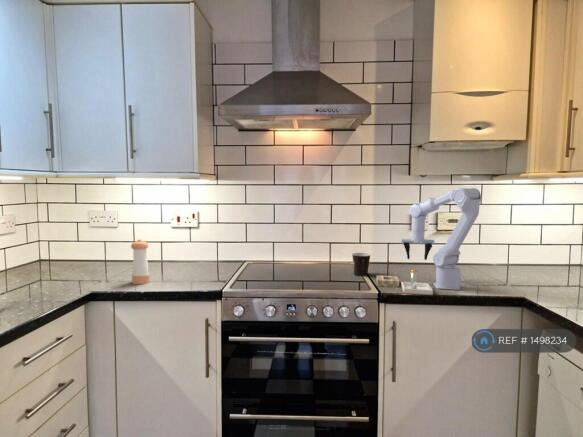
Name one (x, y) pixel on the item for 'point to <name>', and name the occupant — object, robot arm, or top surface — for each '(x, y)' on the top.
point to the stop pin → (413, 279)
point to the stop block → (387, 281)
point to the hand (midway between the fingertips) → (416, 259)
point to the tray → (421, 288)
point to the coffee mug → (361, 263)
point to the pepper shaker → (140, 263)
